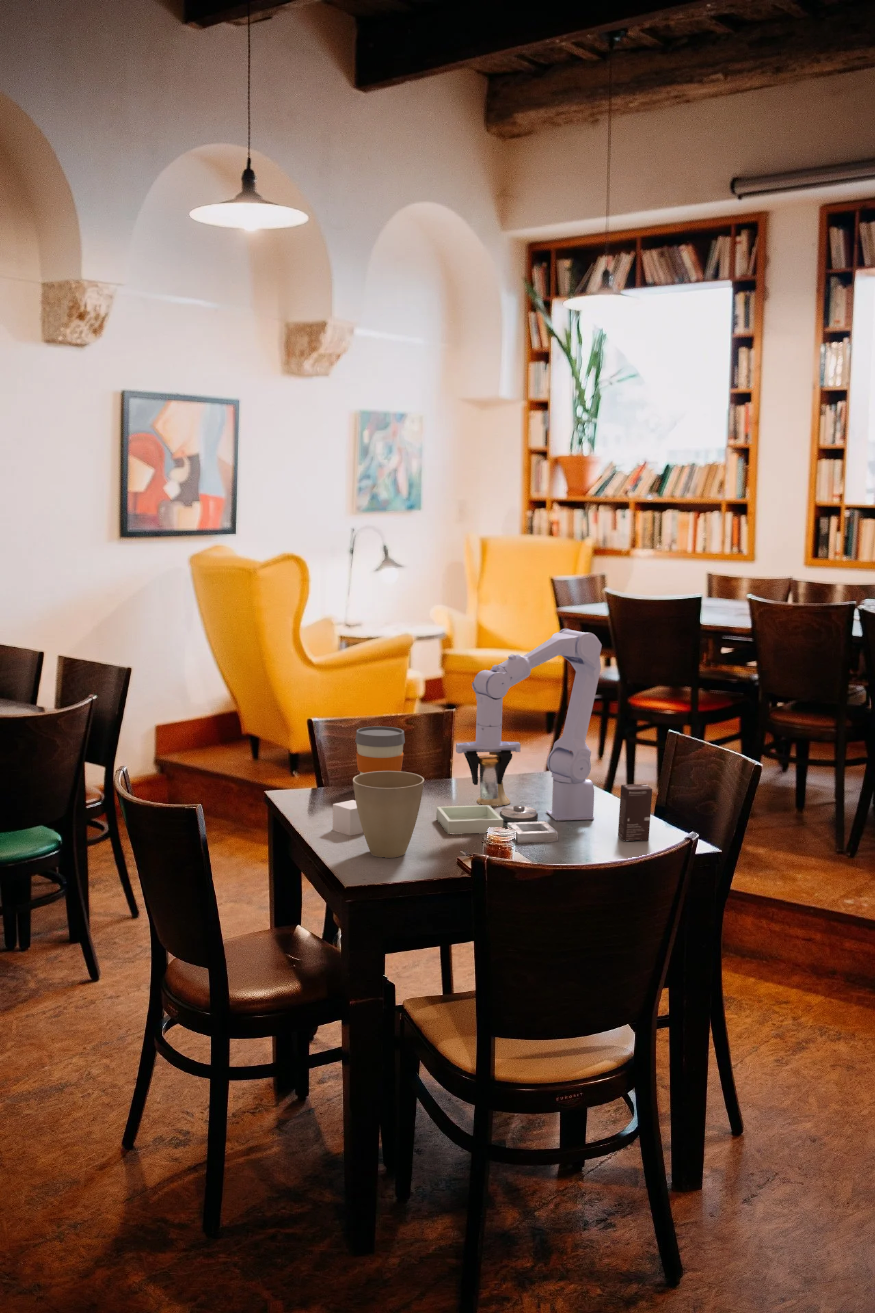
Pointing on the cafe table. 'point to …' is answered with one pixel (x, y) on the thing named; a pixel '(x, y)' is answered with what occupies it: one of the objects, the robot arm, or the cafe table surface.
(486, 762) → the jar with gold lid
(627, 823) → the box
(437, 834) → the cafe table surface
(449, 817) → the parts tray
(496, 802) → the hand bell
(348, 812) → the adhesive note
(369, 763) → the reusable coffee cup
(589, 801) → the robot arm
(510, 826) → the tensioner bracket
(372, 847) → the plant pot
